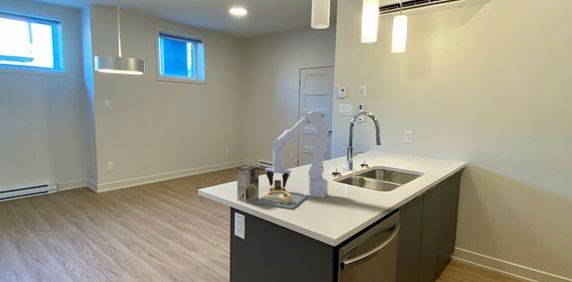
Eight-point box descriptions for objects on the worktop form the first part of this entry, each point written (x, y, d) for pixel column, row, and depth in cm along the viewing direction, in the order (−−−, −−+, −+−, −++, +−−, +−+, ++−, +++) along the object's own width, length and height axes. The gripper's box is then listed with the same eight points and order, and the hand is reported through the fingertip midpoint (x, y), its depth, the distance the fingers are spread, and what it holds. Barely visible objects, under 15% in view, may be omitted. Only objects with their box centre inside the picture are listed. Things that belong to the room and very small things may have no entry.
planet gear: (287, 189, 173) (288, 179, 172) (281, 193, 165) (281, 183, 165) (273, 187, 176) (274, 178, 176) (267, 191, 169) (267, 181, 168)
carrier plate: (306, 198, 159) (306, 188, 158) (292, 209, 141) (292, 198, 141) (272, 193, 166) (272, 184, 165) (255, 203, 149) (255, 193, 148)
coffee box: (250, 195, 161) (250, 164, 159) (259, 198, 157) (259, 166, 155) (236, 199, 154) (236, 167, 152) (245, 202, 150) (245, 169, 148)
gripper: (293, 161, 170) (292, 185, 171) (269, 159, 175) (268, 182, 177) (288, 163, 163) (287, 189, 165) (263, 161, 169) (263, 185, 170)
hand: (277, 186), depth 170 cm, fingers open, 7 cm apart
